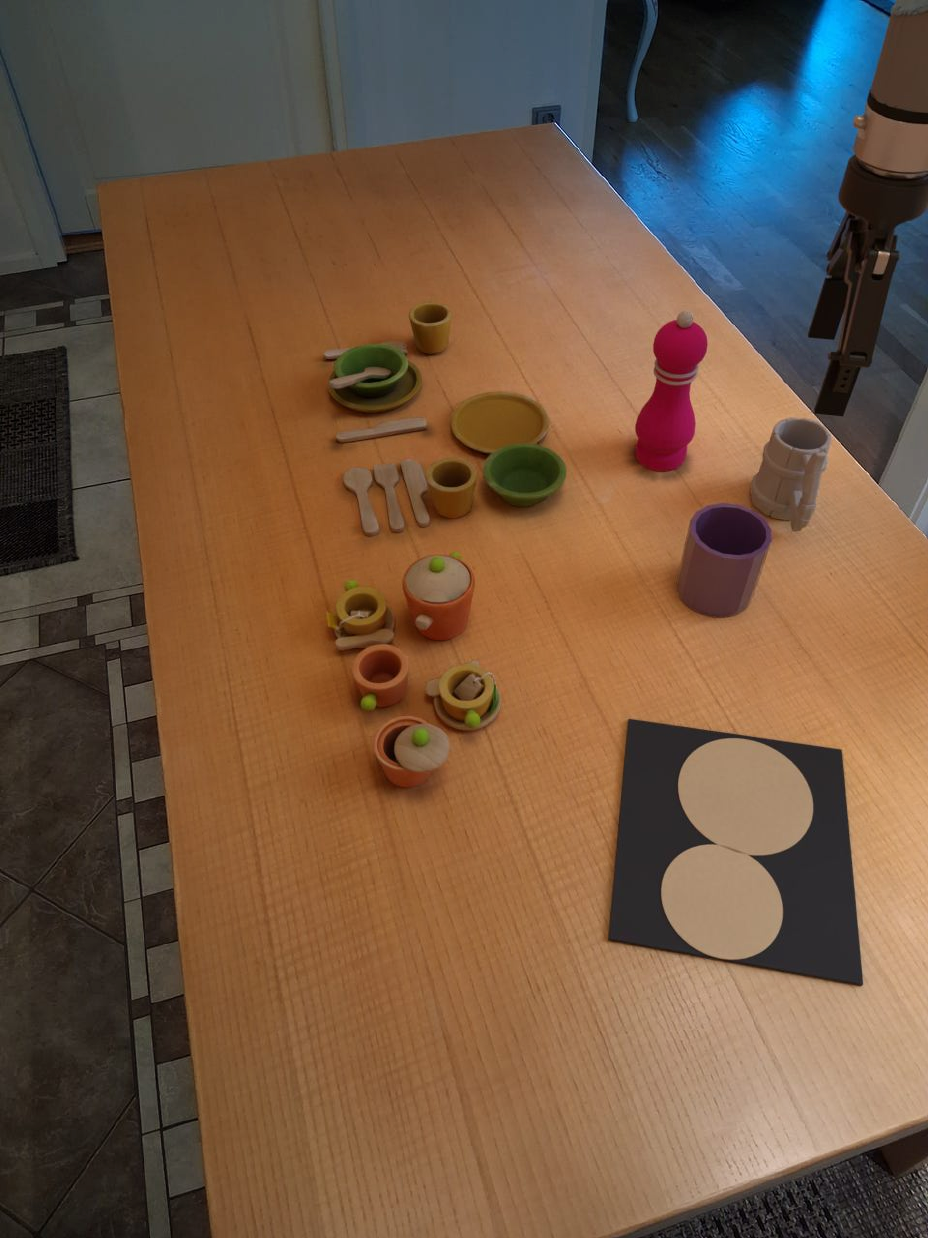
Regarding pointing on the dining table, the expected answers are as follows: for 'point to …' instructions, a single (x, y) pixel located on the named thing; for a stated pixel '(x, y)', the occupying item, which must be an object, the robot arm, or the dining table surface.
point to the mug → (791, 471)
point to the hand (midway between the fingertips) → (824, 373)
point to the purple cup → (723, 559)
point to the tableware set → (479, 423)
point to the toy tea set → (382, 670)
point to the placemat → (736, 852)
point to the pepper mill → (671, 395)
